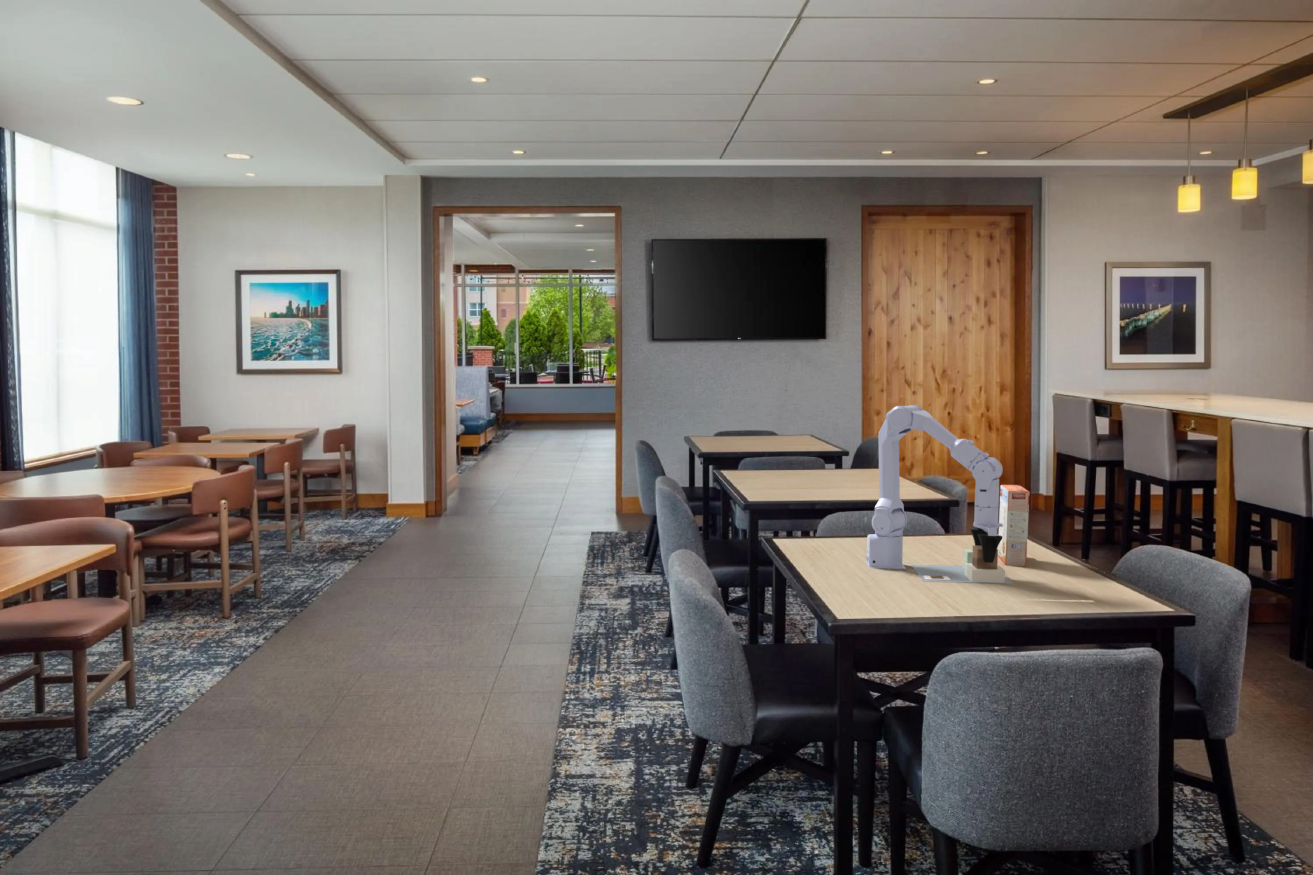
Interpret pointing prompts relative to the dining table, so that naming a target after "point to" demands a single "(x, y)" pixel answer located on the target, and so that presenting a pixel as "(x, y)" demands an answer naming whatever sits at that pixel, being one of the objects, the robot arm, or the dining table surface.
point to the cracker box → (1013, 525)
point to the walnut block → (978, 559)
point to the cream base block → (984, 574)
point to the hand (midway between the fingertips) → (984, 559)
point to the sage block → (967, 556)
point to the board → (946, 574)
